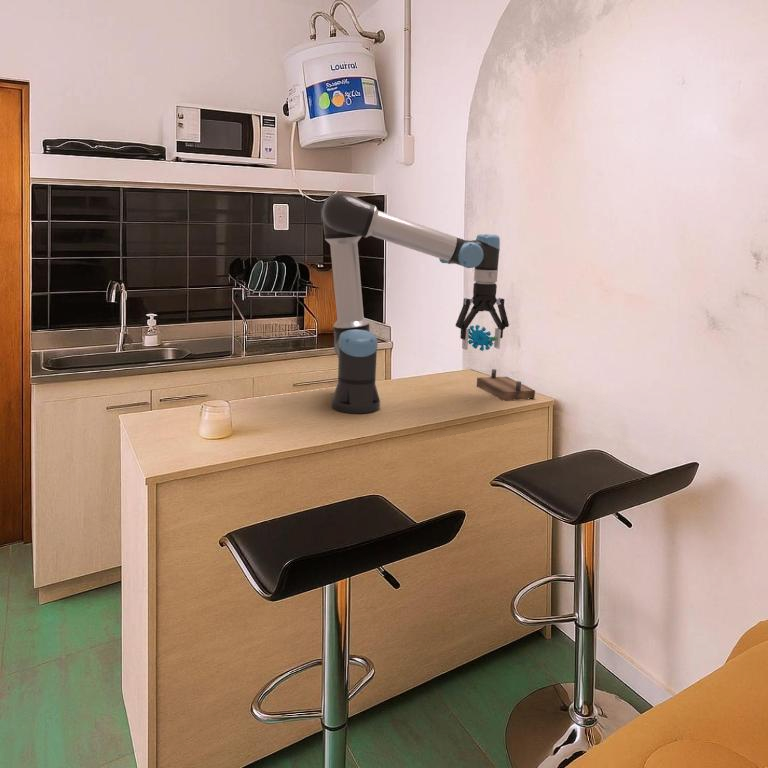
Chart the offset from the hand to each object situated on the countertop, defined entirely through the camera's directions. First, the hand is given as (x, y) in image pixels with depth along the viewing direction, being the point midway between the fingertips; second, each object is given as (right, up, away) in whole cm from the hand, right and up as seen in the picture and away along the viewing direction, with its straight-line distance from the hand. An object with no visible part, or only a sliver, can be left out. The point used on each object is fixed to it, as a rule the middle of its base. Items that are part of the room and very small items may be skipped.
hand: (480, 348), depth 225 cm
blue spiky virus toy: (0, 0, 0) cm, 1 cm away
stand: (+10, -15, +11) cm, 21 cm away
